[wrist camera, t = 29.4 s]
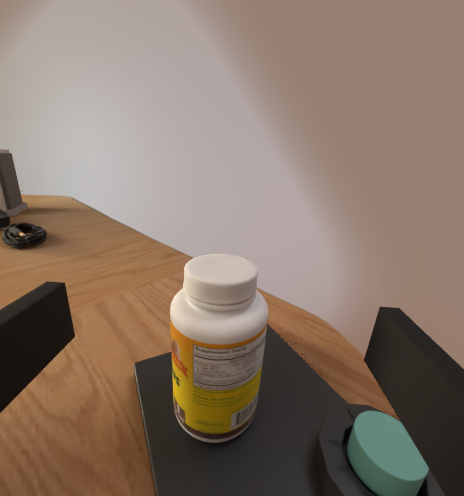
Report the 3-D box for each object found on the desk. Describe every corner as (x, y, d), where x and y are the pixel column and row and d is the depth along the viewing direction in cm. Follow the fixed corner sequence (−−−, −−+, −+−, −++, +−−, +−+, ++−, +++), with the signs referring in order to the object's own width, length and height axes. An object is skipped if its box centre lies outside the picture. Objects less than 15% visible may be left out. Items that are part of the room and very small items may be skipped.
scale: (461, 530, 12) (485, 494, 11) (218, 859, 6) (224, 843, 5) (269, 332, 26) (273, 308, 25) (134, 376, 20) (131, 346, 19)
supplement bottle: (183, 368, 19) (182, 245, 16) (254, 373, 19) (268, 251, 16) (161, 445, 14) (152, 286, 11) (258, 453, 14) (280, 296, 11)
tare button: (431, 481, 12) (443, 458, 12) (393, 521, 11) (404, 496, 10) (371, 422, 15) (378, 401, 14) (334, 447, 13) (340, 425, 13)
